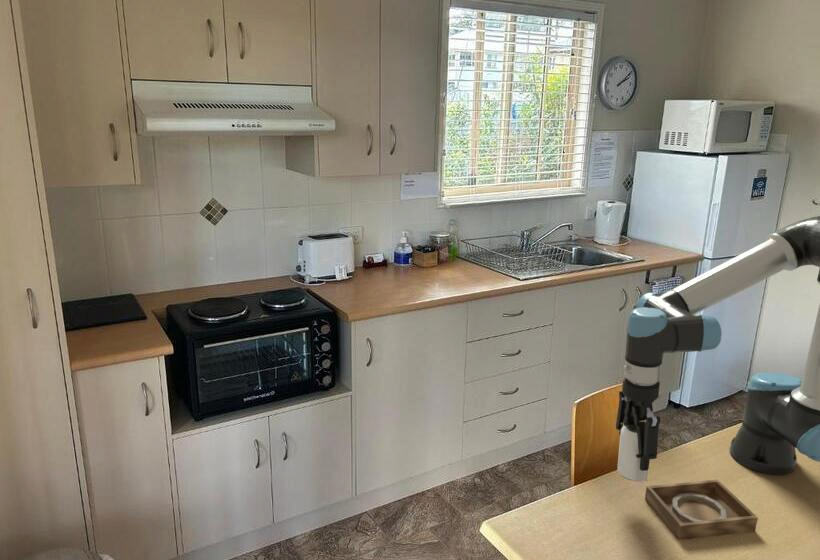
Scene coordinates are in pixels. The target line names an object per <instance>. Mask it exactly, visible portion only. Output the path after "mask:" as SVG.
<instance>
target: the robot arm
mask: <svg viewBox="0 0 820 560" xmlns="http://www.w3.org/2000/svg"><path fill="white" fill-rule="evenodd" d="M804 266H814V267H817V268H819V270H818V273H817V278H816V281H817V283H818V284H819V285H820V215H818V216H812V217H808V218H805V219H802V220H798V221H796V222H793V223H790V224H788V225H786V226H784V227H782V228H780V229H777V230H776V231H774V232H772V233H769V234H768V235H767V236H766V239H765V241H764V242H762V243H760V244H758V245H756V246H754V247H752V248H750V249H748V250H746V251H745V252H742V253H740V254H739V255H736V256H734V257H733V258H731V259H729V260H727V261H725V262H722V264H719V265H717V266H715V267H713V268H711V269H709V270H707V271H705V272H703V273H701V274H699V275H698V276H695V277H694V278H692V279H690V280H688V281H685V282H684V283H682V284H680V285H677V286H675V287H674V288H672V289H670V290H668V291H666V292H665V293H662V294H661V293H658V292H647V293H645V294H643V295H642V296H641V297H640V298H639V299H638V301H637V303H636V306H635V308H634V309H632V310H631V311H630V313H629V317H628V321H627V327H626V344H625V356H624V365H623V368H622V369H623V375H624V376H623V378H622V387H621V390H620V391H619V392H618V398H619V399H618V409H617V416H616V422H615V429H616V430H617V431H619V433H618V434H619V435H620V434H621V429H622V427H623V424H624V422H626V421H627V422H628V423H629V422H634V424H635V425H636V426H637V436H638V449H639V454H636V463H635V473H634V483H639V482H640V483H641V482H646V481H648V473H649V469H650V460H655V459H657V458H658V443H659V442H658V440H659V426H660V424H661V418H660V416H655V414H654V413H653V412H654V408H653V403H654V402H655V401H656V400H657V399H658V398H659V395H660V388H661V387H660V386H661V384H660V383H661V382H660V381H661V378H662V368H663V358H664V354H674V353H691V352H692V353H693V352H698V353H699V352H700V353H701V352H703V351H711V350H715V349H716V348H717V347H718V346H719V345H720V343H721V340H722V328H721V325H720V323H719V320H718V319H717V318H716V317H715V316H713V315H710V314H709V315H705V314H699V313H701V312H703V311H705V310H706V309H709V308H711V307H712V306H715V305H716V304H719V303H721V302H722V301H725V300H726V299H729V298H731V297H732V296H735V295H736V294H738V293H740V292H742V291H745V290H746V289H749V288H751V287H752V286H754V285H757V284H758V283H760V282H762V281H764V280H767V279H768V278H770V277H772V276H774V275H776V274H778V273H780V272H782V271H788V272H789V271H794V270H796V269H797V268H800V267H804ZM697 314H698V315H697ZM811 336H812V337H811V339H810V340H811V341H810V345H809V349H808V353H807V357H806V363H805V365H804V371H803V374H802V379H800V378H798V377H796V376H794V375H789V374H786V373H780V372H779V373H778V372H767V371H766V372H758V373H756V374H753V375H752V376H751V378H750V380H749V383H748V386H747V393H746V398H745V399H746V400H745V405H744V411H743V416H742V422H741V426H740V427H739V429H738V431H737V433H736V434H735V437H733V438H732V440H731V442H730V445H729V454H730V456H731V457H732V458H733V459H734V460H735V461H736V462H737V463H739V464H740V465H741V466H744V467H746V468H748V469H750V470H753V471H755V472H759V473H763V474H766V475H775V476H776V475H778V476H781V475H788V474H790V473H793V472H794V471H795V469H796V466H797V461H798V459H797V454H796V449H797V451H798V452H799V453H800V454H802V455H804V456H806V457H808V459H811V460H812V461H815V462H818V463H820V304H819V305H818V311H817V314H816V318H815V322H814V327H813V331H812V335H811ZM639 421H641V422H639Z"/></svg>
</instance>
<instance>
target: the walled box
mask: <svg viewBox="0 0 820 560" xmlns="http://www.w3.org/2000/svg"><path fill="white" fill-rule="evenodd" d="M644 494H645V495H644V501H645V502H646V503H647V504H648V505H649V506H650V507H651V509H652V510H653V511H654V512H655V514H656V515H657V516H658V517H659V519H660V520H661V521H662V522H663V523H664V524H665V526H666V527H668V529H669V530H670V532H671V533H672V534H673V535H674V536H675V537H676V539H677V540H681V541H682V540H690V539H698V538H708V537H716V536H724V535H725V536H727V535H734V534H735V535H736V534H744V533H753V532H756V530H757V523H758V519H759V517H758V516H757V515H756V514H754V512H753V511H752V510H750V509H749V508H748V507H747V506H746V505H745V504H744V503H743V501H741V500H740V499H739V498H738V497H737V496H736V495H734V493H732V492H731V491H730V490H729V489H728V488H727V486H725V485H723V483H722V482H721V481H720V480H718V479H712V480H711V479H710V480H699V481H698V480H697V481H689V482H677V483H668V484H658V485H657V484H656V485H647V486H646V488H645V493H644Z"/></svg>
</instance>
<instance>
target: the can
mask: <svg viewBox="0 0 820 560" xmlns="http://www.w3.org/2000/svg"><path fill="white" fill-rule="evenodd" d="M639 422H641V421H639ZM619 436H620V437H619V445H618V458H617V459H618V460H617V472H618V473H619V475H620V476H621V477H622V478H624V479H625V480H629V481H634V473H635V463H636V454H639V449H638V436H637V426H636V425H635V424H634V422H629V423H628V422H627V421H626V422H624V424H623V427H622V429H621V434H619ZM634 482H635V481H634Z"/></svg>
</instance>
